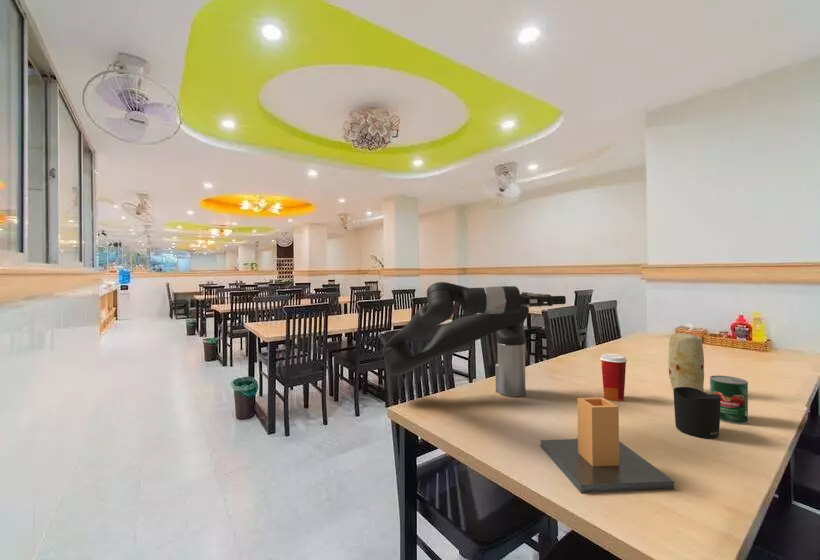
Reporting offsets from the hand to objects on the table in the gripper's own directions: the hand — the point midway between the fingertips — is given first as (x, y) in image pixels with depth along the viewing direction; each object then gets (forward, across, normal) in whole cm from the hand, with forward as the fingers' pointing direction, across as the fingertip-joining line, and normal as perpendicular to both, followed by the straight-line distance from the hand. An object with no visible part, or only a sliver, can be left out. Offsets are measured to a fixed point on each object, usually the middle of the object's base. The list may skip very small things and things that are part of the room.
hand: (557, 299), depth 97 cm
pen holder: (+32, +9, -34) cm, 48 cm away
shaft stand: (-2, +23, -34) cm, 41 cm away
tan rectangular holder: (-2, +23, -32) cm, 40 cm away
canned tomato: (+48, +2, -34) cm, 59 cm away
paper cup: (+26, -17, -34) cm, 46 cm away
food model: (+54, -20, -34) cm, 67 cm away
